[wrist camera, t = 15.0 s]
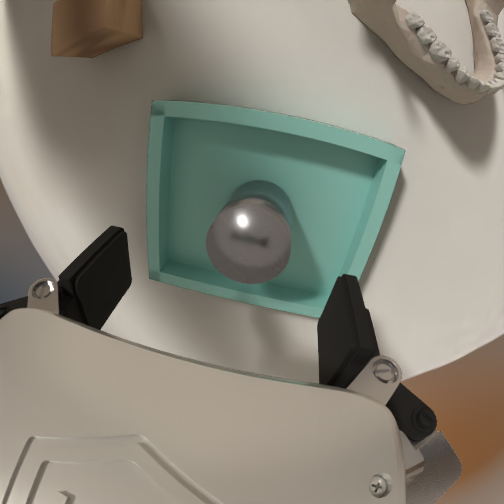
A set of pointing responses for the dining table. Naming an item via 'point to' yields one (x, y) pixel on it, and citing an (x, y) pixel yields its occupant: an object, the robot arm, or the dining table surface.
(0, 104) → the dining table surface
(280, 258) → the grey metal cylinder
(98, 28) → the walnut block
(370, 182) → the tray
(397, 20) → the anatomical model
